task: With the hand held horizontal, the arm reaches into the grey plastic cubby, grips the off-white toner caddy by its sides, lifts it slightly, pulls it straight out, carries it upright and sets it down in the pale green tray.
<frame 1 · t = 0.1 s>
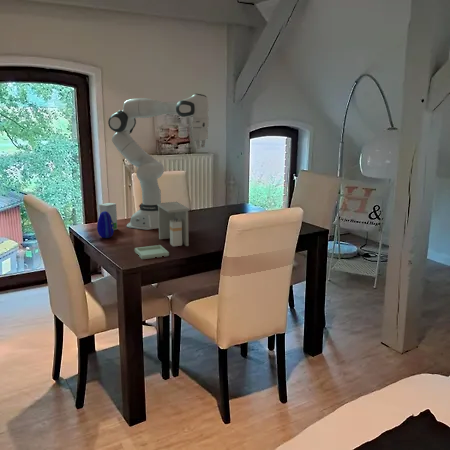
hand: (200, 148, 279), 48 cm above the table, tool pointing down, fingers open, 8 cm apart
ornament: (106, 237, 273), on the table
tray: (151, 253, 244), on the table
skincare box: (108, 230, 289), on the table
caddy: (176, 244, 260), on the table
bay: (176, 244, 260), on the table
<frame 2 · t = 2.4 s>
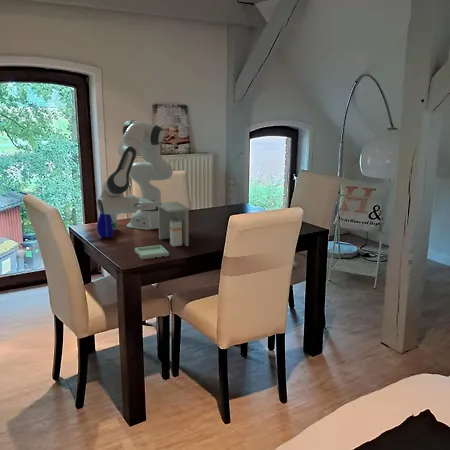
hand: (157, 202, 250), 24 cm above the table, tool horizontal, fingers open, 8 cm apart
nothing on the table moved.
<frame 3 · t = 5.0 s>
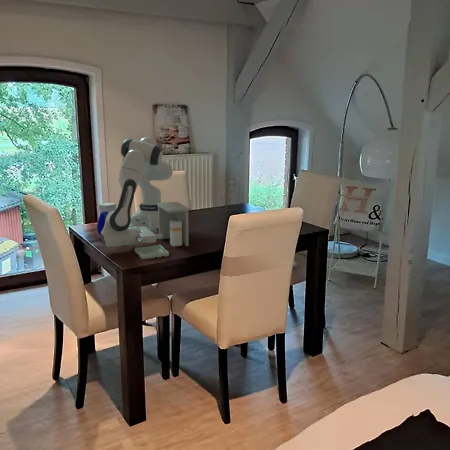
hand: (159, 232, 255), 7 cm above the table, tool horizontal, fingers open, 8 cm apart
nothing on the table moved.
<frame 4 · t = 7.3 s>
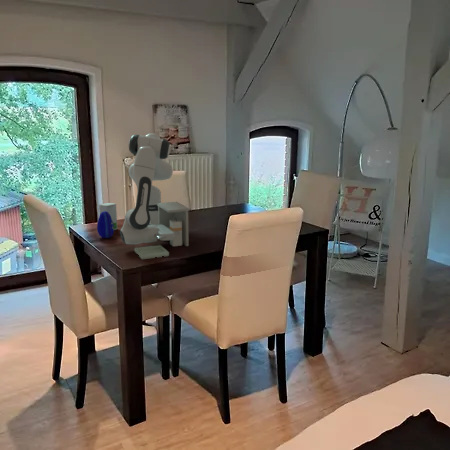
hand: (177, 230, 259), 8 cm above the table, tool horizontal, fingers closed on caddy, 5 cm apart
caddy: (176, 244, 260), on the table, touching gripper
everything else where it was.
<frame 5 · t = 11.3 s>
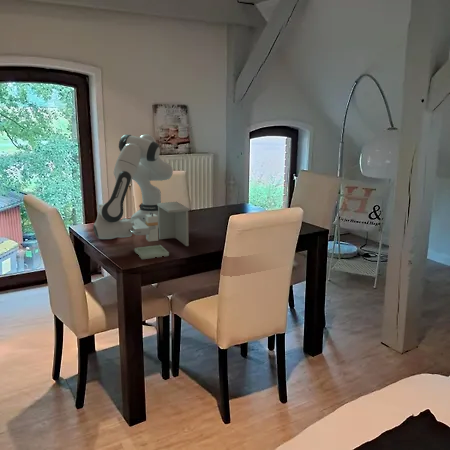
hand: (153, 225, 253), 12 cm above the table, tool horizontal, fingers closed on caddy, 5 cm apart
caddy: (152, 239, 254), point 4 cm above the table, touching gripper
everything else where it was.
when the fingers open (9 cm above the table, at t = 15.2 s): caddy stays where it is, resting on tray.
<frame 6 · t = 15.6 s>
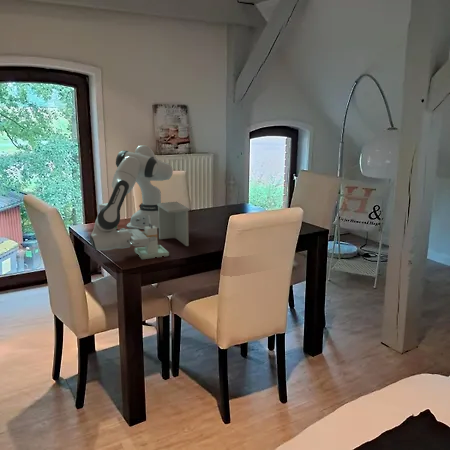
hand: (152, 235, 243), 9 cm above the table, tool horizontal, fingers open, 8 cm apart
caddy: (151, 252, 244), point 1 cm above the table, touching tray
everything else where it was.
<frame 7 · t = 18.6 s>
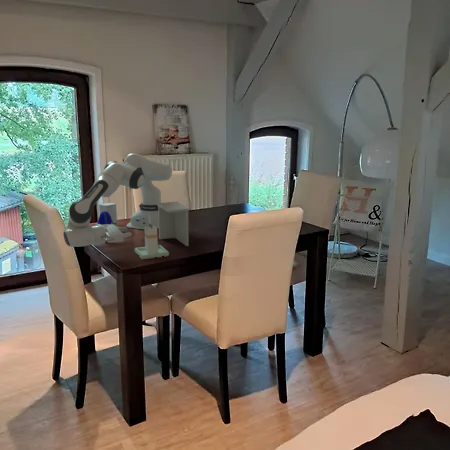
hand: (128, 231, 237), 13 cm above the table, tool horizontal, fingers open, 8 cm apart
nothing on the table moved.
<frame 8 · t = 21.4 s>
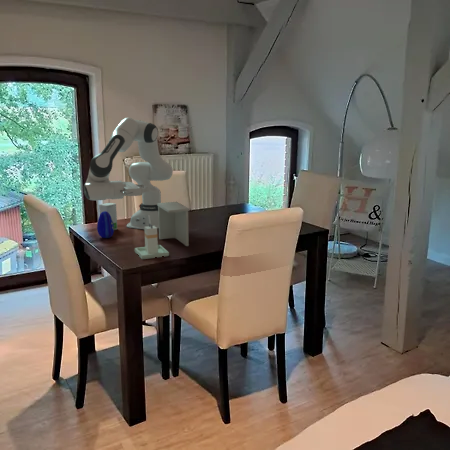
hand: (146, 187, 244), 32 cm above the table, tool horizontal, fingers open, 8 cm apart
nothing on the table moved.
at the end: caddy inside the target area on the tray (0.1 cm from its centre), point 0.6 cm above the tray's base; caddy tilted 0°; the gripper is holding nothing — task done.
